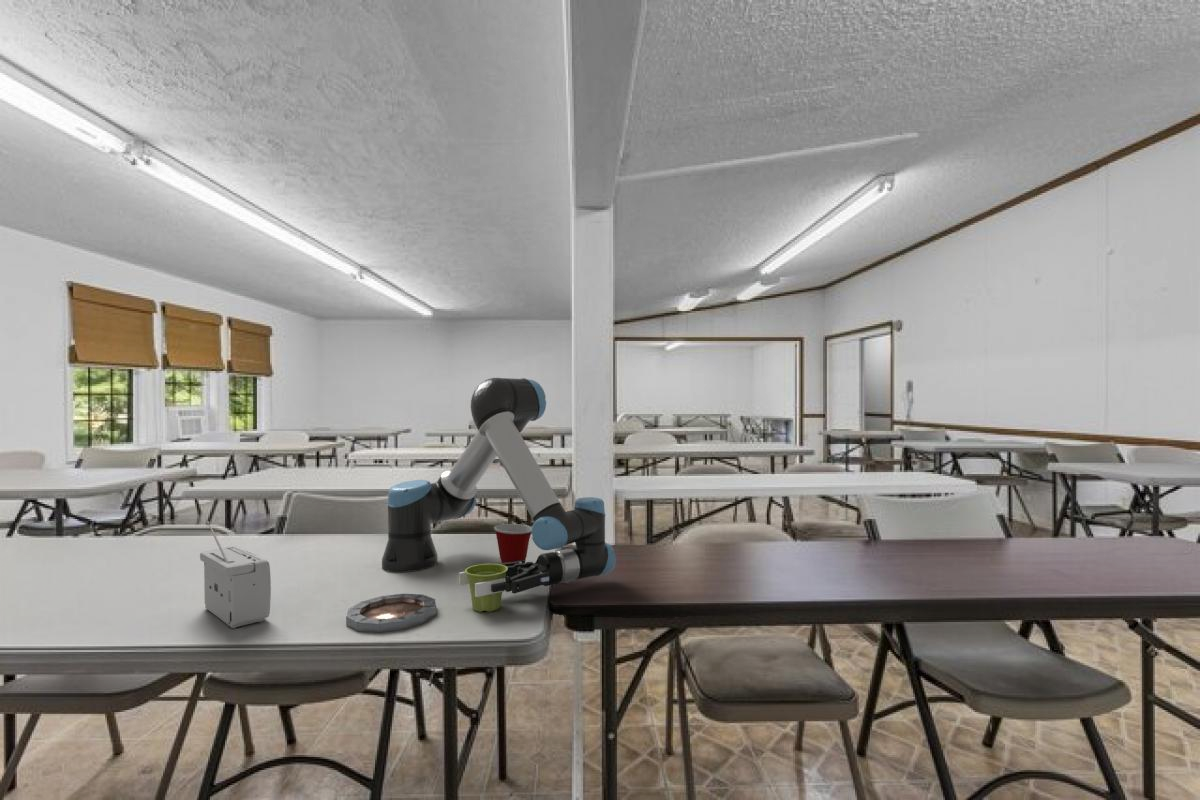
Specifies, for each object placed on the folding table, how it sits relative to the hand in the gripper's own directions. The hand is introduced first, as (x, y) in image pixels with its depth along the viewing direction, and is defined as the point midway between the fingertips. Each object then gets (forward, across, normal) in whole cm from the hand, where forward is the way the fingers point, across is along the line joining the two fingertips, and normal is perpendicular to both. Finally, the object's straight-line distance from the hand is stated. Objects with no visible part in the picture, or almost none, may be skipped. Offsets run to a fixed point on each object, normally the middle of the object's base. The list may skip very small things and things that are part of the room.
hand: (467, 584), depth 129 cm
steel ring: (+14, +7, -6) cm, 17 cm away
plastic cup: (-22, +23, -6) cm, 33 cm away
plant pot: (-5, 0, -6) cm, 8 cm away
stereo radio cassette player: (+43, +28, -6) cm, 52 cm away
